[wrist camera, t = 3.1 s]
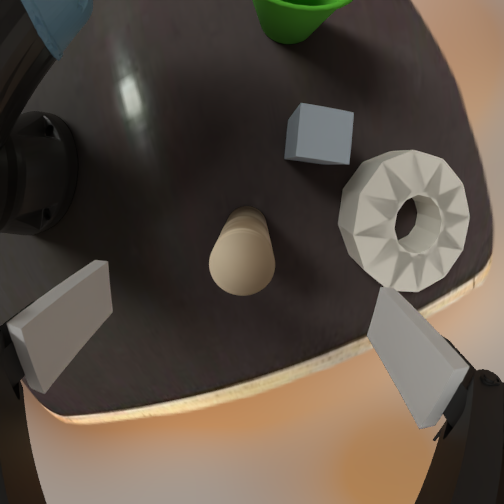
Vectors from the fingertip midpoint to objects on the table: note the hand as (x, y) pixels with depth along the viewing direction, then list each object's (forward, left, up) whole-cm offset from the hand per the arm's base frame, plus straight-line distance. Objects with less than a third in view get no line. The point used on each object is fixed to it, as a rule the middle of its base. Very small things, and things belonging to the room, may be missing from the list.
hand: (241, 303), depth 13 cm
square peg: (+5, +9, -17) cm, 20 cm away
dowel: (0, 0, -17) cm, 17 cm away
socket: (+16, +3, -17) cm, 23 cm away
